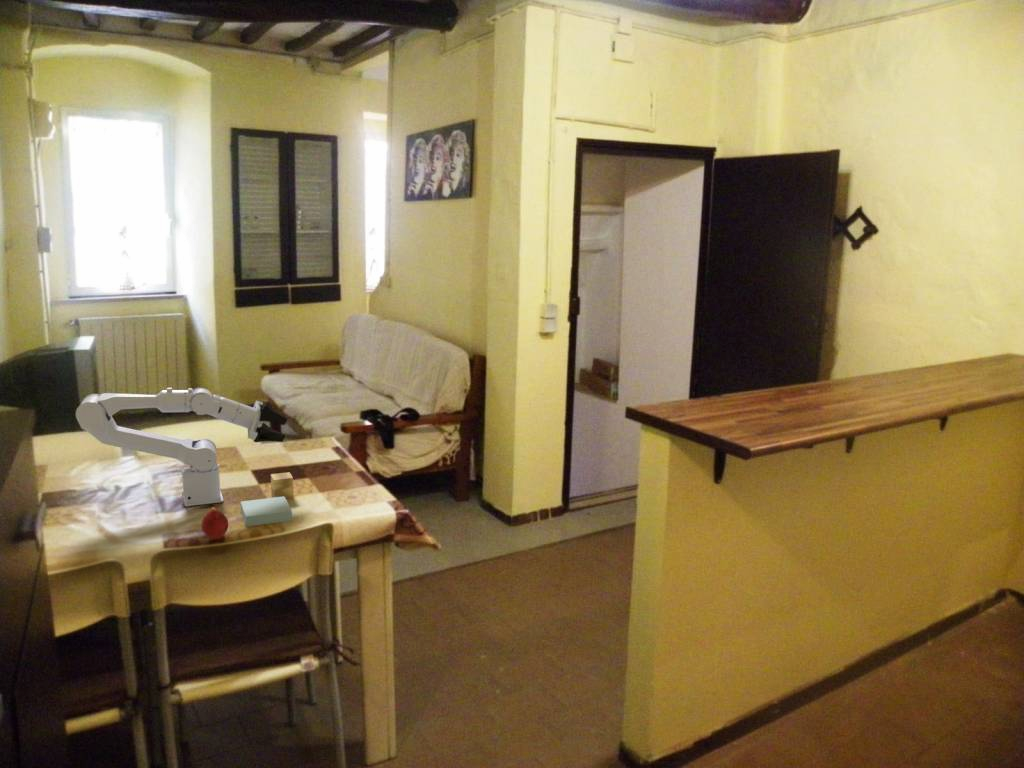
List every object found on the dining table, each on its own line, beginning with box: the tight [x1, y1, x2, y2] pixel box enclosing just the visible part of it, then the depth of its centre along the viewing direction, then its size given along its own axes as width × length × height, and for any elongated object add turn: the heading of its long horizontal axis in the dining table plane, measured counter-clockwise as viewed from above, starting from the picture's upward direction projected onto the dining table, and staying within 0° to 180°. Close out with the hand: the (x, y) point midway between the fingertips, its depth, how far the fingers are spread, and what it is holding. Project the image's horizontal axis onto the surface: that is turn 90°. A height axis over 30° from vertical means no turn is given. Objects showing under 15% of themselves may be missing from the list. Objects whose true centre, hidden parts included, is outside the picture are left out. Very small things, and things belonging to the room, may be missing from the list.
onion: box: [201, 507, 229, 541], centre depth 181 cm, size 6×6×8 cm
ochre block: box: [270, 471, 294, 500], centre depth 210 cm, size 5×5×6 cm
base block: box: [240, 496, 293, 527], centre depth 197 cm, size 11×11×3 cm
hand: (285, 430), depth 210 cm, fingers open, 7 cm apart
